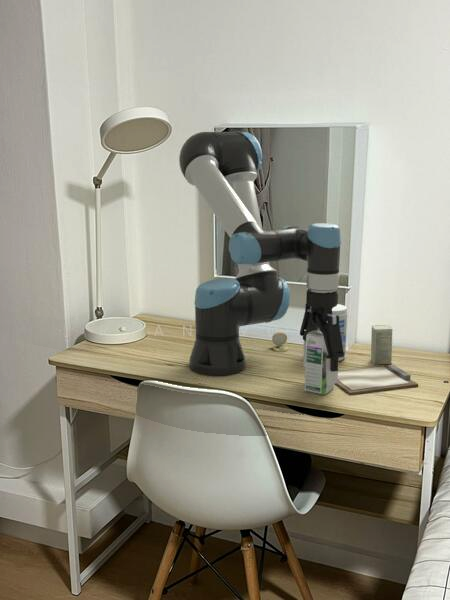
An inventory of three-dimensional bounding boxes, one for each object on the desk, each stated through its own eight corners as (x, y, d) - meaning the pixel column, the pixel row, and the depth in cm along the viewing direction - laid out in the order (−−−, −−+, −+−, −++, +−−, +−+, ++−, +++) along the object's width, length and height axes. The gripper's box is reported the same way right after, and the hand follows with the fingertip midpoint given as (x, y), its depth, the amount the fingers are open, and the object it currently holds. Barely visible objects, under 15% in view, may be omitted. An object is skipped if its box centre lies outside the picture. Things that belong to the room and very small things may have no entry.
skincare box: (388, 359, 195) (390, 324, 193) (391, 364, 191) (393, 329, 189) (369, 359, 196) (371, 324, 193) (372, 364, 191) (374, 329, 189)
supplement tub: (338, 365, 191) (340, 313, 187) (305, 359, 195) (307, 308, 192) (350, 355, 199) (352, 305, 196) (319, 350, 204) (320, 301, 200)
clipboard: (323, 374, 184) (323, 368, 183) (387, 367, 189) (387, 360, 189) (349, 394, 170) (349, 387, 169) (418, 386, 175) (418, 379, 175)
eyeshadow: (274, 352, 202) (275, 336, 201) (271, 347, 207) (271, 331, 206) (289, 351, 202) (290, 335, 201) (286, 346, 207) (286, 330, 206)
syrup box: (303, 391, 172) (305, 334, 169) (313, 383, 177) (315, 328, 174) (325, 395, 169) (327, 338, 166) (334, 388, 174) (336, 332, 171)
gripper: (361, 299, 157) (357, 389, 162) (315, 277, 180) (312, 357, 185) (330, 302, 155) (327, 393, 160) (288, 279, 177) (286, 359, 182)
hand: (319, 374), depth 172 cm, fingers open, 12 cm apart
